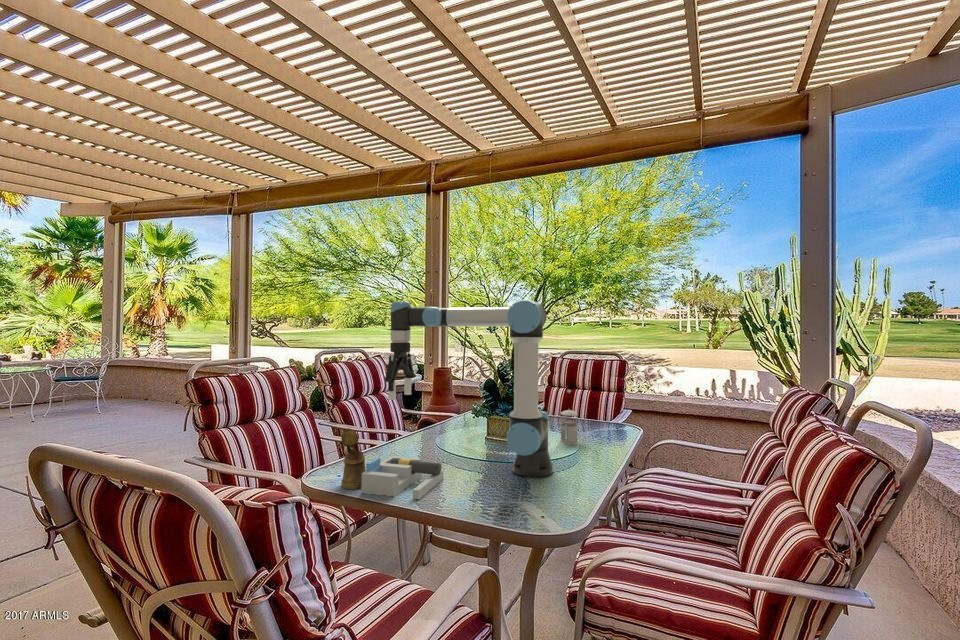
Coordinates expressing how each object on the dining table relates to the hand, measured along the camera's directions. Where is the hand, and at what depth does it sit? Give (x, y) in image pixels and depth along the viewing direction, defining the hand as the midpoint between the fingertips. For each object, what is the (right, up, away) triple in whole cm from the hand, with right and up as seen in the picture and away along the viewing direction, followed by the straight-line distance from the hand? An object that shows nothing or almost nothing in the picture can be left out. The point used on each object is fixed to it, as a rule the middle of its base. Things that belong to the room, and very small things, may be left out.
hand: (400, 397), depth 182 cm
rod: (+8, -25, -13) cm, 29 cm away
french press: (+73, -29, +44) cm, 90 cm away
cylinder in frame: (+4, -28, -18) cm, 33 cm away
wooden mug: (-14, -28, -16) cm, 35 cm away
